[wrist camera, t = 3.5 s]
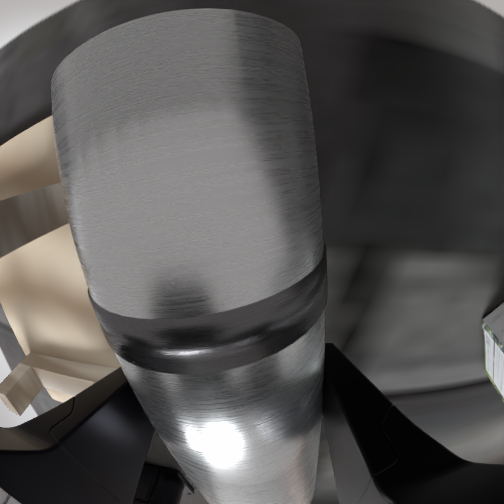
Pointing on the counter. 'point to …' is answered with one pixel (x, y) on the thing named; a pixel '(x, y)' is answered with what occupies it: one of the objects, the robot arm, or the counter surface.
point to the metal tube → (204, 238)
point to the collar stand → (44, 278)
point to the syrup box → (494, 348)
